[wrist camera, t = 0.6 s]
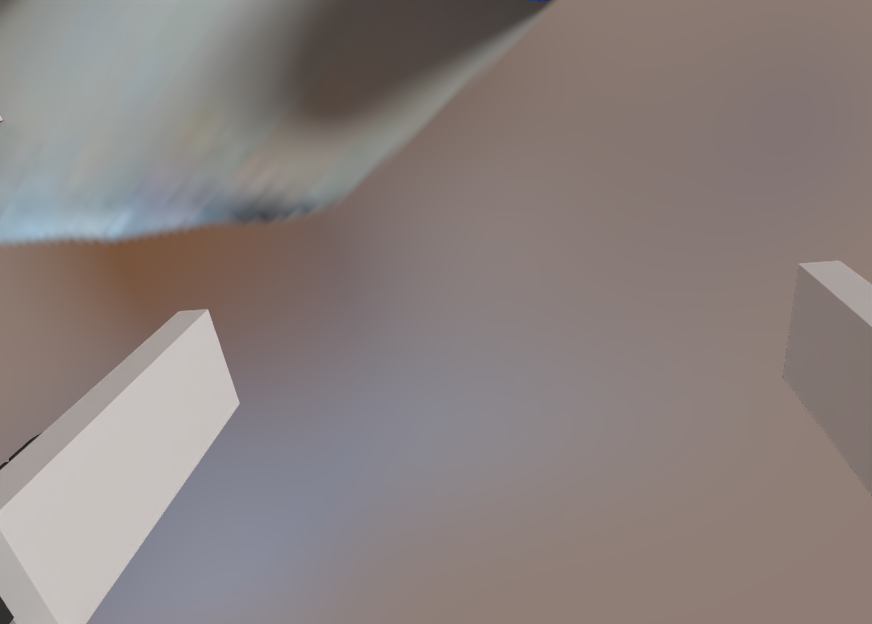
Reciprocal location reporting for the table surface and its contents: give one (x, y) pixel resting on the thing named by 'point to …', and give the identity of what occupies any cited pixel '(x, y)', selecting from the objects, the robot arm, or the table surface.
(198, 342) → the robot arm
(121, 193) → the table surface
